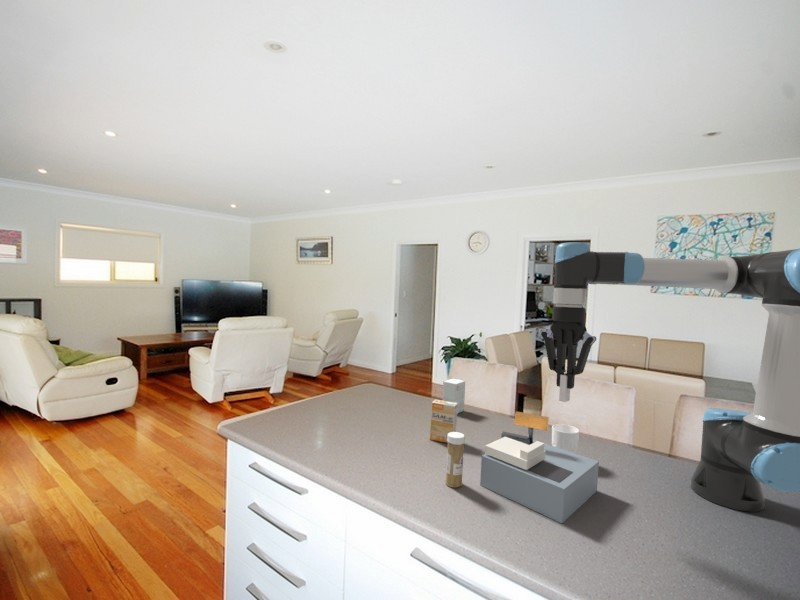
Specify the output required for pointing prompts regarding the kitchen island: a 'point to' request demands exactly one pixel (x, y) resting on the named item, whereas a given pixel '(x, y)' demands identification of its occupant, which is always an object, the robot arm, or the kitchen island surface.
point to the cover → (516, 452)
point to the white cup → (565, 437)
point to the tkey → (530, 422)
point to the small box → (454, 392)
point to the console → (544, 482)
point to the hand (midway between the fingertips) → (564, 400)
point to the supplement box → (443, 419)
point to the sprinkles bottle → (454, 459)
